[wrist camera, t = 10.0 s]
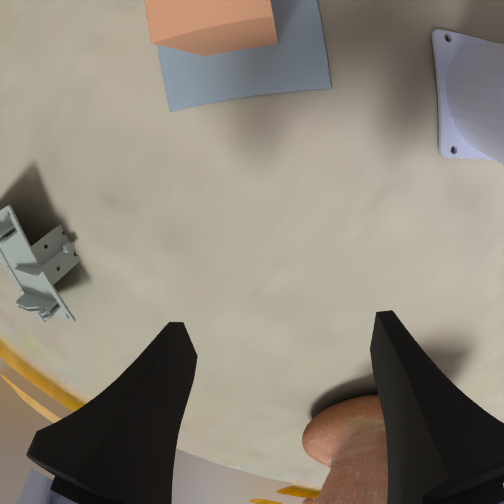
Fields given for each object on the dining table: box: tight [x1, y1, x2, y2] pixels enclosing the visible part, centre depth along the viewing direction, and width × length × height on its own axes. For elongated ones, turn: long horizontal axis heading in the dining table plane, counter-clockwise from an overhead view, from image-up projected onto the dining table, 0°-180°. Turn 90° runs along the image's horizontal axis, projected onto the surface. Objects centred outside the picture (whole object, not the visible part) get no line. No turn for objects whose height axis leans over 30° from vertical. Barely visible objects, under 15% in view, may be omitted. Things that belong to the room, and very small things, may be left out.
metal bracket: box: [0, 205, 80, 323], centre depth 22 cm, size 14×6×15 cm
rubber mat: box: [157, 0, 331, 112], centre depth 12 cm, size 9×9×1 cm
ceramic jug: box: [302, 394, 388, 504], centre depth 24 cm, size 18×14×14 cm
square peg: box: [144, 0, 278, 57], centre depth 9 cm, size 4×4×7 cm
